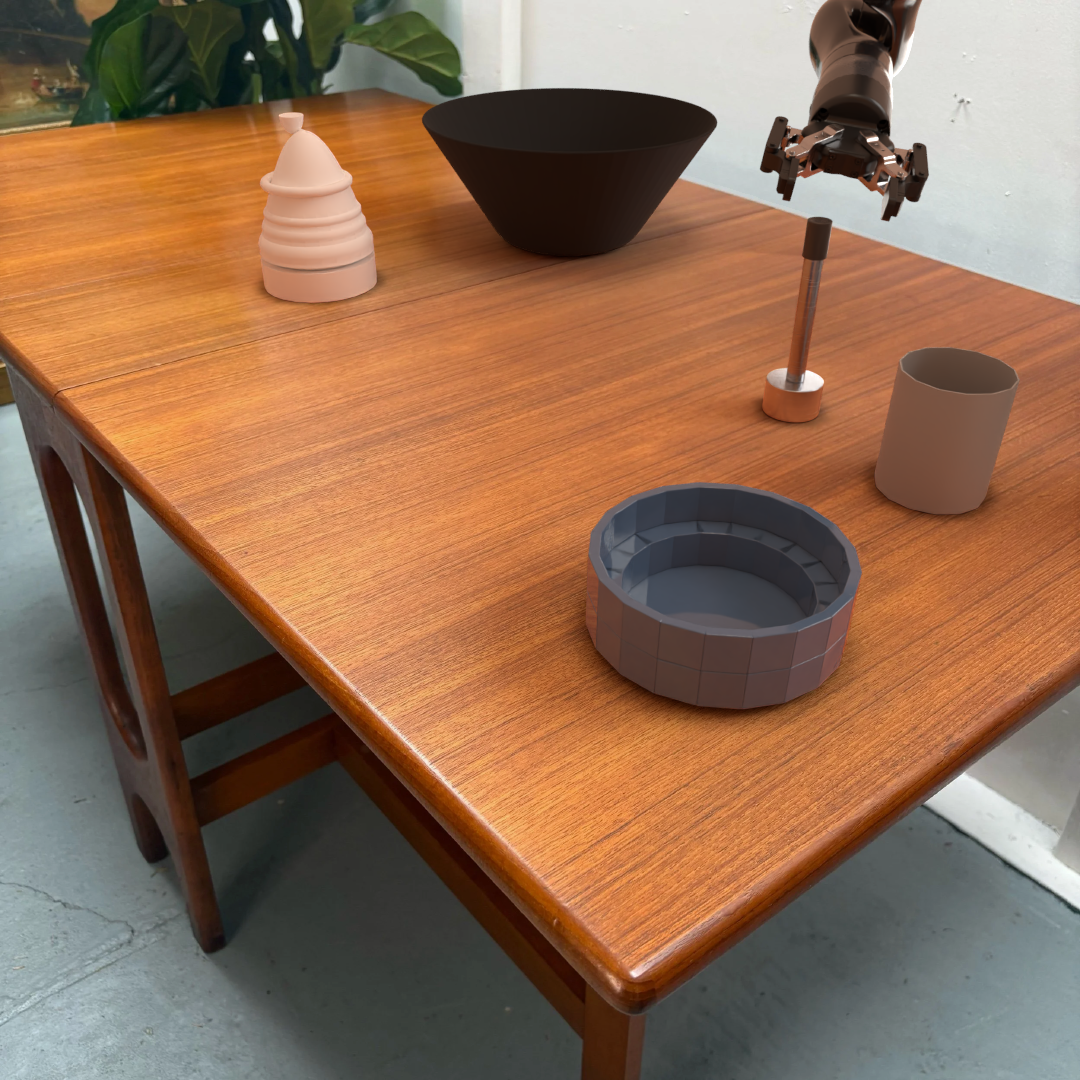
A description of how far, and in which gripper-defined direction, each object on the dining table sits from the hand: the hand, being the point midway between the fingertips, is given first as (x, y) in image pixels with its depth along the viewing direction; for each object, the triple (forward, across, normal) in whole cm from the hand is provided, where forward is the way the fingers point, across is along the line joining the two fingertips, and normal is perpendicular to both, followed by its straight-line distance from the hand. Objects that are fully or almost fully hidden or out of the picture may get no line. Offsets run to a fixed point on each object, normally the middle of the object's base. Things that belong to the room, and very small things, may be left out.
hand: (838, 201), depth 87 cm
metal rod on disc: (+10, +1, +15) cm, 18 cm away
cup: (+21, +12, +11) cm, 26 cm away
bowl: (-30, -29, +30) cm, 51 cm away
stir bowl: (+42, -3, +7) cm, 43 cm away
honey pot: (-8, -53, +27) cm, 60 cm away
